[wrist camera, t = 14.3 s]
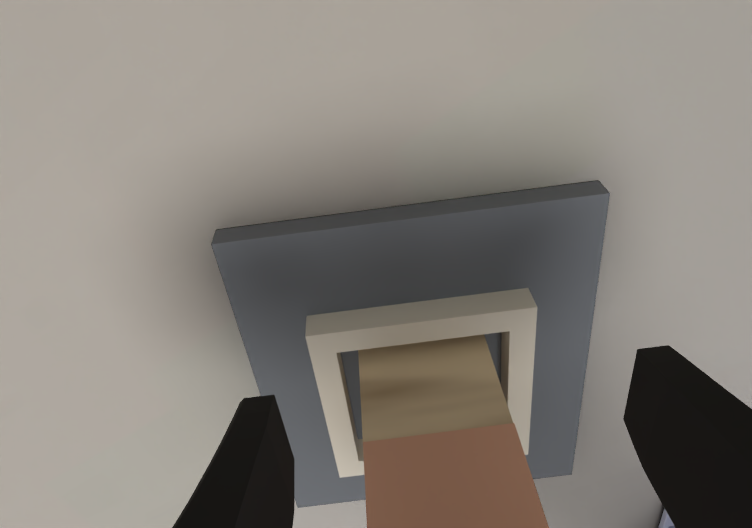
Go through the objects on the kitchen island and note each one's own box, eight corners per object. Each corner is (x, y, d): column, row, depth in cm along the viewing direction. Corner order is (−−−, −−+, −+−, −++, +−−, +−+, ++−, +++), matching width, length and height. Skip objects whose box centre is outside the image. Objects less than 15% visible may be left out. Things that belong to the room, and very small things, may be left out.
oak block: (482, 409, 26) (511, 512, 21) (372, 423, 26) (380, 528, 22) (481, 326, 23) (513, 425, 19) (357, 342, 23) (362, 444, 19)
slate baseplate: (565, 457, 30) (580, 495, 28) (298, 490, 30) (296, 530, 28) (598, 180, 21) (624, 209, 19) (216, 229, 21) (204, 263, 19)
